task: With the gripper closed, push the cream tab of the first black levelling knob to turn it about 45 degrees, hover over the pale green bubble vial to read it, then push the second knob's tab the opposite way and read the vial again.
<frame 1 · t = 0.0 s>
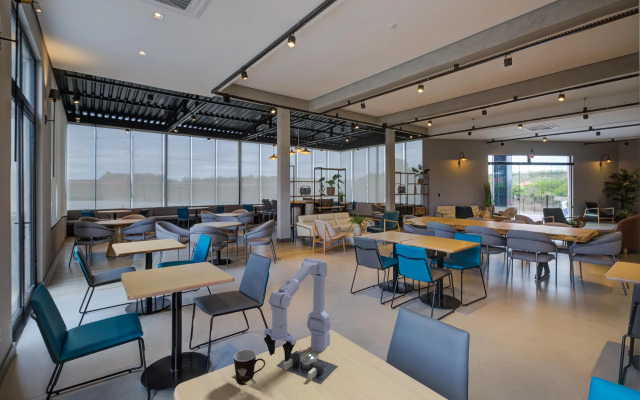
hand: (279, 357, 117), 10 cm above the table, fingers open, 7 cm apart
knob a: (291, 361, 127), point 3 cm above the table, hinge at 0.0°
knob b: (315, 370, 121), point 3 cm above the table, hinge at 0.0°
coffee mug: (247, 381, 119), on the table
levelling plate: (307, 369, 127), on the table
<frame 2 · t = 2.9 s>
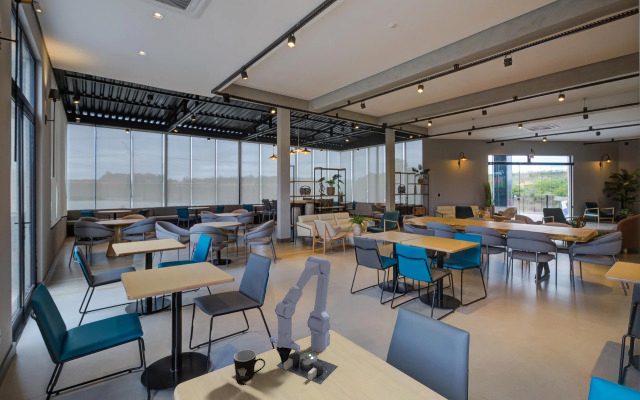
hand: (284, 363, 126), 3 cm above the table, fingers closed, pressing on knob a
knob a: (291, 361, 127), point 3 cm above the table, hinge at 0.0°, touching gripper
everything else where it was.
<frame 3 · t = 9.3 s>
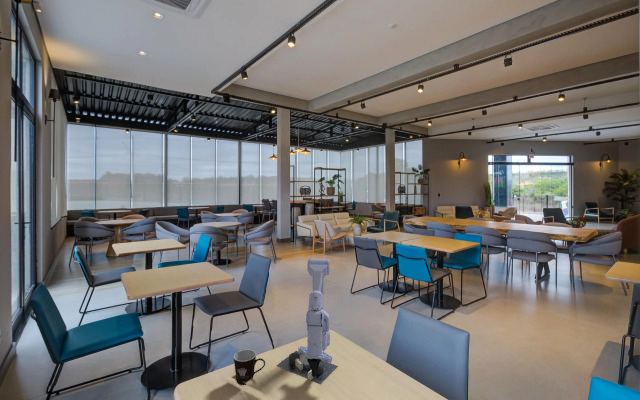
hand: (314, 375, 118), 3 cm above the table, fingers closed, pressing on knob b
knob a: (296, 361, 127), point 3 cm above the table, hinge at 67.2°, touching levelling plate
knob b: (315, 370, 121), point 3 cm above the table, hinge at -0.2°, touching gripper
everything else where it was.
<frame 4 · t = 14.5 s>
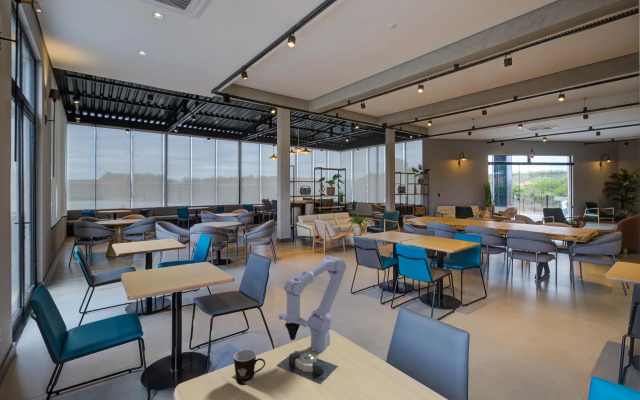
hand: (292, 339, 131), 10 cm above the table, fingers closed
knob b: (313, 367, 123), point 3 cm above the table, hinge at -67.0°, touching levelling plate
everything else where it was.
at the end: knob a at +67° (first picture: +0°); knob b at -67° (first picture: +0°) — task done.
